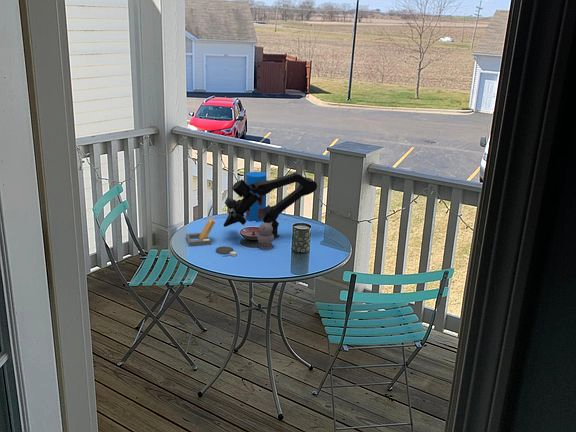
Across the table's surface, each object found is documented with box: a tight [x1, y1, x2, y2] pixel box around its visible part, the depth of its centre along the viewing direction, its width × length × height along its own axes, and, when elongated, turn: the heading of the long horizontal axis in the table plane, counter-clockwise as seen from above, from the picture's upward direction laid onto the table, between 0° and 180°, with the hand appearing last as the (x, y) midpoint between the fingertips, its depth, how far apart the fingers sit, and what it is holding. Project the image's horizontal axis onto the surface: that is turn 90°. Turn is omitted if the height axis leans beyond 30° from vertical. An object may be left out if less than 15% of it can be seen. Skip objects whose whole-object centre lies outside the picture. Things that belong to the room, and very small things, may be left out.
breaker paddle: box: [199, 216, 216, 240], centre depth 266 cm, size 2×6×11 cm, turn 19°
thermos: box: [245, 171, 267, 223], centre depth 298 cm, size 11×11×25 cm
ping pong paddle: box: [215, 245, 238, 258], centre depth 256 cm, size 10×8×2 cm
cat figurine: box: [256, 222, 275, 250], centre depth 263 cm, size 8×8×12 cm
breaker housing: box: [185, 232, 212, 247], centre depth 266 cm, size 10×11×3 cm
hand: (224, 226), depth 268 cm, fingers closed
